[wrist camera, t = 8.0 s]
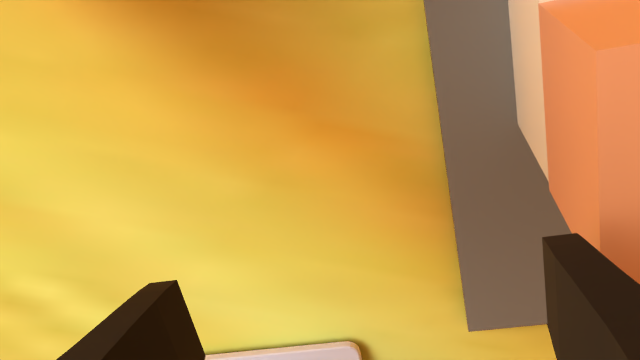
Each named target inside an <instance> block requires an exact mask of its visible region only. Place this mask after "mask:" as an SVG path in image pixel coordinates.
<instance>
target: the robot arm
mask: <svg viewBox="0 0 640 360" xmlns="http://www.w3.org/2000/svg"><path fill="white" fill-rule="evenodd" d="M542 246H543V262H544V277H545V293H546V309H547V325H548V328H549V332H550V336H551V340H552V343H553V347H554V351H555V355H556V358H557V360H640V284H639V283H637V282H636V281H635V280H634V279H632V278H631V277H630V276H629V275H627V274H626V273H625V272H624V271H622V270H621V269H620V268H619V267H617V266H616V265H615V264H614V263H613V262H611V261H610V260H609V259H608V258H607V257H605V256H604V255H603V254H602V253H601V252H600V251H598V250H597V249H596V248H595V247H594V246H592V245H591V244H590V243H589V242H588V241H587V240H585V239H584V238H583V237H582V236H580V235H579V234H578V233H572V234H564V235H555V236H547V237H542ZM57 360H362V357H361V352H360V349H359V347H358V345H356V344H355V343H353V342H350V341H343V342H333V343H323V344H313V345H303V346H293V347H283V348H273V349H262V350H252V351H242V352H232V353H222V354H212V355H205V353H204V351H203V348H202V345H201V343H200V340H199V337H198V335H197V332H196V330H195V327H194V324H193V322H192V319H191V316H190V314H189V311H188V308H187V306H186V303H185V301H184V298H183V295H182V293H181V290H180V287H179V285H178V282H177V280H173V281H165V282H156V283H149V284H148V285H146V286H145V287H144V288H142V289H141V290H139V291H138V292H137V293H136V294H134V295H133V296H132V297H131V298H129V299H128V300H127V301H126V302H125V303H123V304H122V305H121V306H120V307H119V308H117V309H116V310H115V311H114V312H113V313H112V314H110V315H109V316H108V317H107V318H106V319H105V320H103V321H102V322H101V323H100V324H99V325H97V326H96V327H95V328H94V329H93V330H92V331H90V332H89V333H88V334H87V335H86V336H85V337H83V338H82V339H81V340H80V341H79V342H77V343H76V344H75V345H74V346H73V347H72V348H70V349H69V350H68V351H67V352H65V353H64V354H63V355H62V356H60V357H59V358H58V359H57Z"/></svg>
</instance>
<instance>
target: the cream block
mask: <svg viewBox="0 0 640 360" xmlns="http://www.w3.org/2000/svg"><path fill="white" fill-rule="evenodd" d="M549 1H554V0H508V7H509V20H510V32H511V45H512V57H513V70H514V83H515V95H516V108H517V121H518V126H519V127H520V129H521V131H522V133H523V135H524V137H525V139H526V141H527V142H528V144H529V146H530V148H531V150H532V152H533V154H534V156H535V157H536V159H537V161H538V163H539V165H540V167H541V169H542V171H543V172H544V174H545V176H546V178H547V180H548V182H549V178H548V161H547V144H546V127H545V110H544V93H543V76H542V60H541V43H540V26H539V9H538V3H543V2H549Z"/></svg>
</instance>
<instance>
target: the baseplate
mask: <svg viewBox="0 0 640 360" xmlns="http://www.w3.org/2000/svg"><path fill="white" fill-rule="evenodd" d="M424 7H425V14H426V22H427V29H428V36H429V44H430V51H431V59H432V66H433V73H434V81H435V88H436V96H437V103H438V110H439V118H440V125H441V133H442V140H443V147H444V155H445V162H446V170H447V177H448V184H449V192H450V199H451V206H452V214H453V221H454V229H455V236H456V243H457V251H458V258H459V266H460V273H461V280H462V288H463V295H464V303H465V310H466V317H467V325H468V330H469V332H470V331H481V330H491V329H501V328H511V327H521V326H532V325H542V324H547V309H546V293H545V277H544V262H543V246H542V237H547V236H555V235H564V234H572V233H571V231H570V229H569V227H568V225H567V223H566V221H565V219H564V217H563V215H562V214H561V212H560V210H559V208H558V206H557V204H556V202H555V200H554V198H553V196H552V194H551V192H550V191H549V182H548V180H547V178H546V176H545V174H544V172H543V171H542V169H541V167H540V165H539V163H538V161H537V159H536V157H535V156H534V154H533V152H532V150H531V148H530V146H529V144H528V142H527V141H526V139H525V137H524V135H523V133H522V131H521V129H520V127H519V126H518V121H517V108H516V95H515V83H514V70H513V57H512V45H511V32H510V20H509V7H508V0H424Z"/></svg>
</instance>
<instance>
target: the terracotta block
mask: <svg viewBox="0 0 640 360" xmlns="http://www.w3.org/2000/svg"><path fill="white" fill-rule="evenodd" d="M538 9H539V26H540V43H541V60H542V76H543V93H544V110H545V127H546V144H547V161H548V178H549V191H550V192H551V194H552V196H553V198H554V200H555V202H556V204H557V206H558V208H559V210H560V212H561V214H562V215H563V217H564V219H565V221H566V223H567V225H568V227H569V229H570V231H571V233H578V234H579V235H580V236H582V237H583V238H584V239H585V240H587V241H588V242H589V243H590V244H591V245H592V246H594V247H595V248H596V249H597V250H598V251H600V252H601V253H602V254H603V255H604V256H605V257H607V258H608V259H609V260H610V261H611V262H613V263H614V264H615V265H616V266H617V267H619V268H620V269H621V270H622V271H624V272H625V273H626V274H627V275H629V276H630V277H631V278H632V279H634V280H635V281H636V282H637V283H639V284H640V0H554V1H549V2H543V3H538Z"/></svg>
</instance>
